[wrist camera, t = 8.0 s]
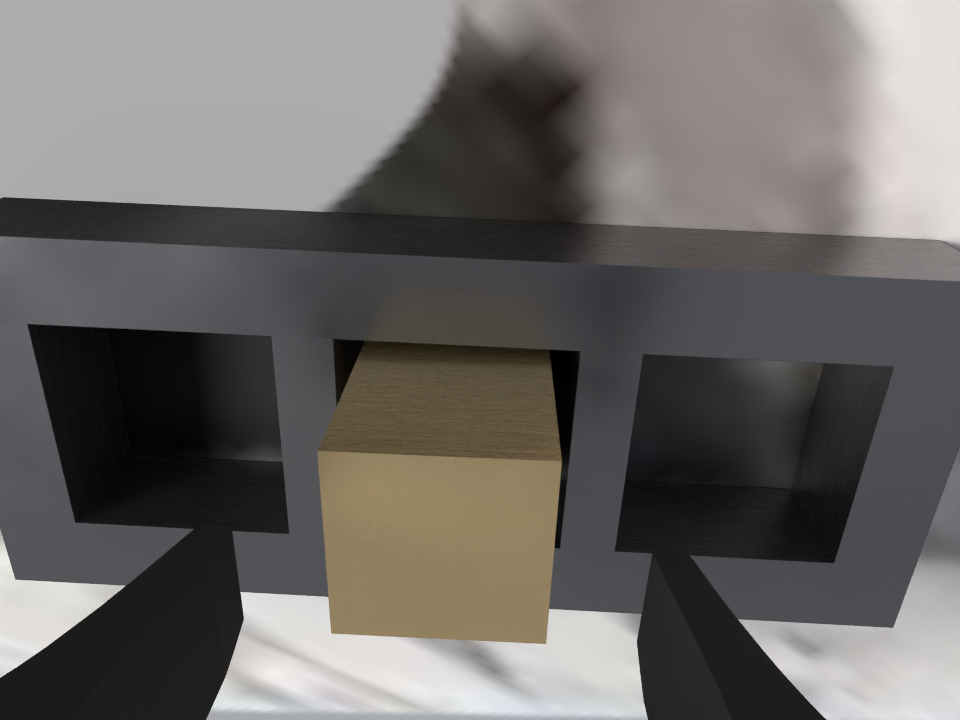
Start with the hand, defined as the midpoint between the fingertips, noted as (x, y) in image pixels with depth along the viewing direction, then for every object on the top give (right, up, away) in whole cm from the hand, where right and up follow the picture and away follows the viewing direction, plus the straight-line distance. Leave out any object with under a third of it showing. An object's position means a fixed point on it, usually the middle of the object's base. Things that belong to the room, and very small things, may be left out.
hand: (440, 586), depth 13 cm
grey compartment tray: (0, +3, +7) cm, 7 cm away
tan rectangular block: (0, +4, +7) cm, 7 cm away
